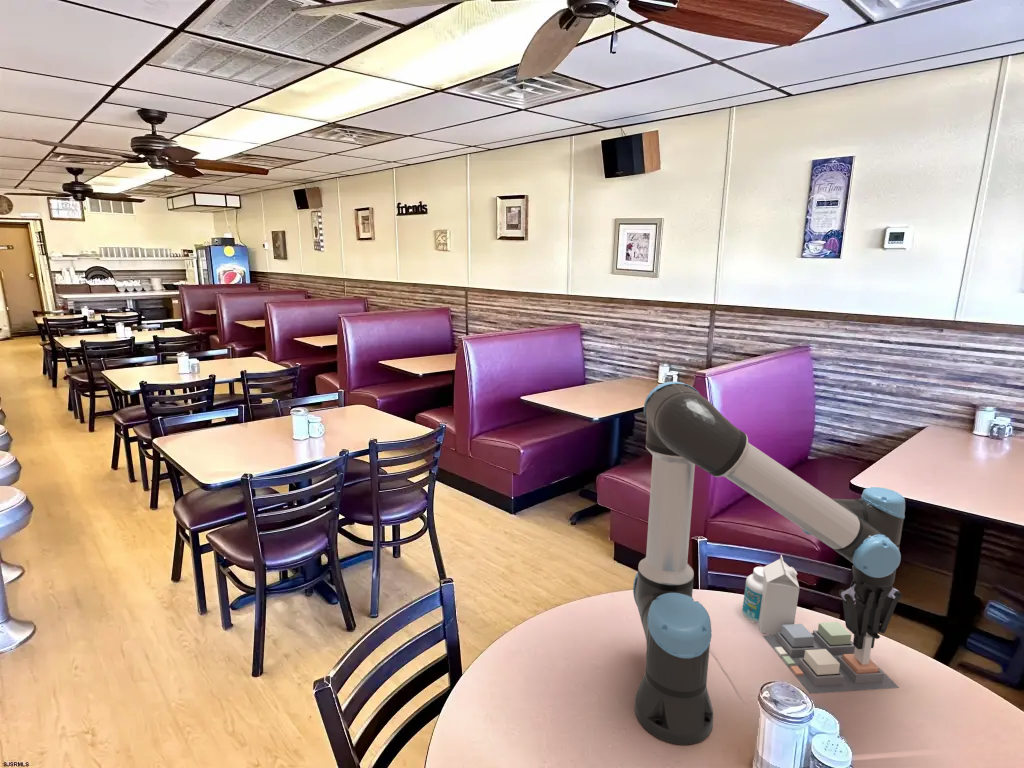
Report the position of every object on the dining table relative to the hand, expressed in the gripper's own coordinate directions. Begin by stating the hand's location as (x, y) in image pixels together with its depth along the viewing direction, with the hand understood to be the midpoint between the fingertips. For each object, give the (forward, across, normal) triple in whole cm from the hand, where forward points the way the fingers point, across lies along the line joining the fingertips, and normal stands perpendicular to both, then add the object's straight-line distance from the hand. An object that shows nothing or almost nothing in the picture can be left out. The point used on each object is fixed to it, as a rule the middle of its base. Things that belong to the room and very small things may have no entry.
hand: (861, 660), depth 123 cm
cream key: (+1, -9, 0) cm, 9 cm away
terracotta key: (+3, 0, 0) cm, 3 cm away
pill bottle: (+4, -12, +22) cm, 25 cm away
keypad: (+4, -5, +4) cm, 8 cm away
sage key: (+1, 0, +9) cm, 9 cm away
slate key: (+1, -9, +9) cm, 13 cm away
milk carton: (+5, -10, +17) cm, 20 cm away
